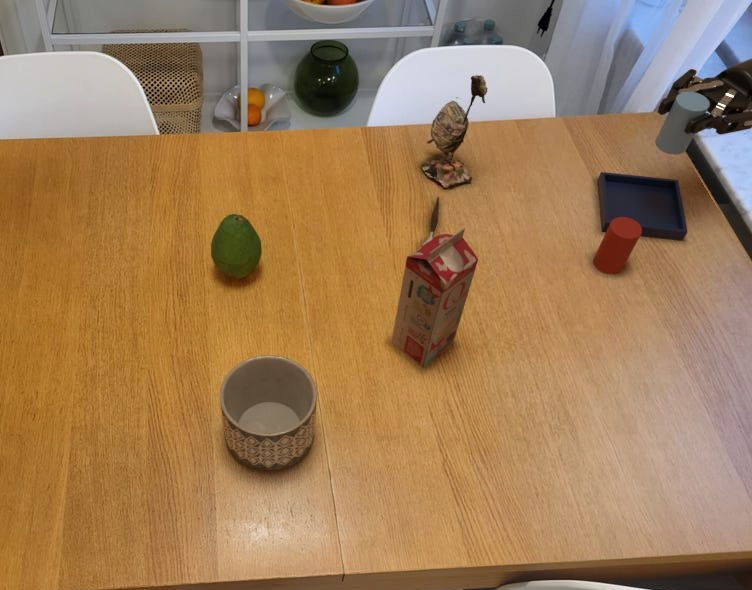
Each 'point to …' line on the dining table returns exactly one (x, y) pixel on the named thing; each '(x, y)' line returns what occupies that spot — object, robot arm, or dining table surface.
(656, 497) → the dining table surface
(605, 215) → the blue tray
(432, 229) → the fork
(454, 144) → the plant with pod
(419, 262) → the juice carton
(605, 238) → the red cylinder
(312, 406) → the planter
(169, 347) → the dining table surface
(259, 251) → the fruit
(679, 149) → the blue pin
